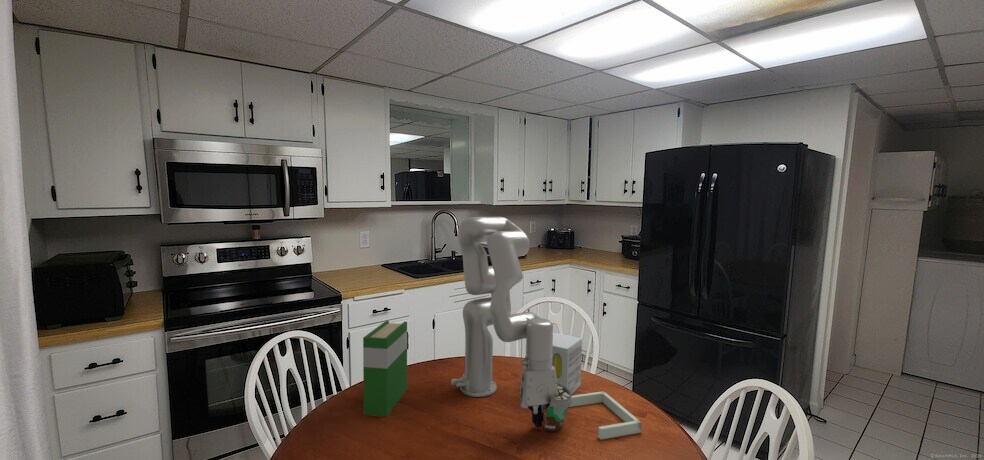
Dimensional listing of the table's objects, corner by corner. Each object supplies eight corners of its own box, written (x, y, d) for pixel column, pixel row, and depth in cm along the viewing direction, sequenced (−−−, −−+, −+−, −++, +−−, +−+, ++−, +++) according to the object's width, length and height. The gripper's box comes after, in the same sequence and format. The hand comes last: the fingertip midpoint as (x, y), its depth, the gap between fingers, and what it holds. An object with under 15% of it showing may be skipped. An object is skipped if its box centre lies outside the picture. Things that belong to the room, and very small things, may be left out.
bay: (600, 439, 110) (600, 429, 109) (567, 405, 128) (567, 396, 128) (641, 432, 113) (641, 422, 113) (603, 400, 132) (603, 391, 132)
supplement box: (531, 389, 139) (532, 340, 138) (547, 376, 150) (548, 330, 148) (566, 400, 131) (568, 348, 130) (581, 385, 142) (582, 337, 141)
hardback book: (386, 388, 138) (386, 320, 136) (407, 389, 137) (407, 321, 135) (363, 415, 121) (363, 337, 119) (387, 417, 120) (386, 339, 118)
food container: (565, 439, 110) (573, 405, 109) (543, 432, 111) (551, 399, 110) (566, 416, 122) (573, 386, 121) (546, 410, 123) (553, 380, 122)
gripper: (518, 370, 108) (517, 435, 109) (568, 365, 112) (567, 428, 113) (509, 360, 115) (508, 421, 116) (557, 355, 119) (555, 414, 120)
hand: (537, 424), depth 115 cm, fingers closed
